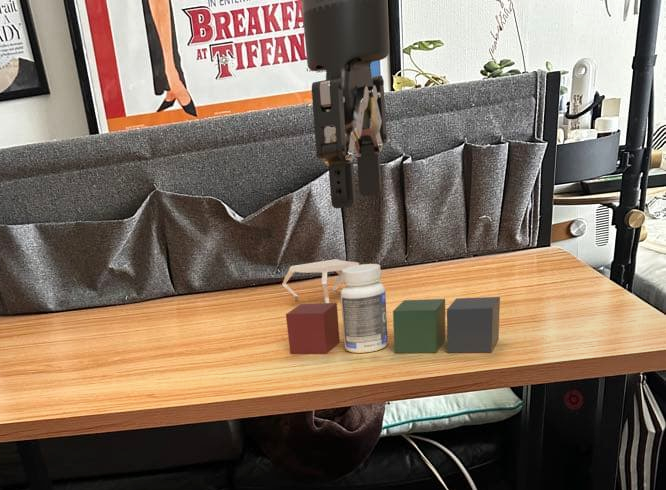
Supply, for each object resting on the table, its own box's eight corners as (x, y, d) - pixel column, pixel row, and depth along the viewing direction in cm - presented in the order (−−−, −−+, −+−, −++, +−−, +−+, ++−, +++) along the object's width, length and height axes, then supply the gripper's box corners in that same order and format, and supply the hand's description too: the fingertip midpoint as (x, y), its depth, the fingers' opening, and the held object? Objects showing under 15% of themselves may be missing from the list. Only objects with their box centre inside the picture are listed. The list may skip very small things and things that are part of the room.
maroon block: (339, 341, 83) (336, 302, 80) (326, 353, 79) (323, 313, 77) (304, 342, 84) (300, 303, 82) (290, 353, 81) (285, 314, 79)
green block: (445, 340, 78) (445, 298, 75) (436, 353, 74) (435, 309, 72) (405, 341, 79) (403, 300, 77) (394, 353, 76) (392, 310, 74)
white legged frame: (368, 289, 105) (366, 253, 102) (363, 302, 98) (361, 264, 95) (287, 296, 107) (283, 262, 105) (277, 310, 100) (272, 273, 98)
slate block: (498, 339, 75) (499, 296, 73) (491, 352, 72) (492, 307, 70) (455, 340, 77) (456, 298, 75) (446, 352, 74) (446, 309, 72)
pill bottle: (394, 348, 77) (390, 266, 73) (352, 356, 77) (346, 274, 73) (379, 338, 82) (375, 260, 77) (339, 346, 81) (333, 268, 77)
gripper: (359, -14, 57) (373, 208, 65) (406, -3, 68) (413, 187, 76) (273, 6, 60) (296, 216, 68) (331, 14, 71) (345, 194, 79)
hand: (358, 200), depth 72 cm, fingers open, 8 cm apart
